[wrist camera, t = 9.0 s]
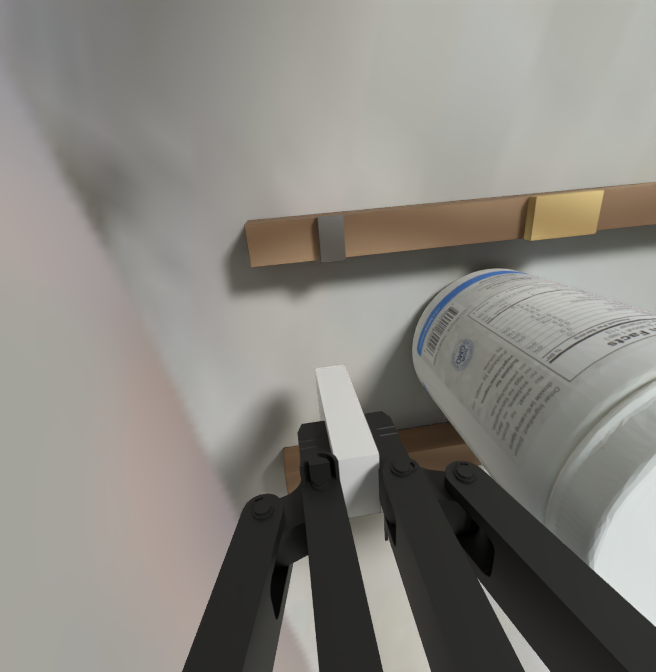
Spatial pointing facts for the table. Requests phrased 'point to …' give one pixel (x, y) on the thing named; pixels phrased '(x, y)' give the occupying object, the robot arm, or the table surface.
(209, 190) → the table surface
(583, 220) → the beam track
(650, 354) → the supplement tub
